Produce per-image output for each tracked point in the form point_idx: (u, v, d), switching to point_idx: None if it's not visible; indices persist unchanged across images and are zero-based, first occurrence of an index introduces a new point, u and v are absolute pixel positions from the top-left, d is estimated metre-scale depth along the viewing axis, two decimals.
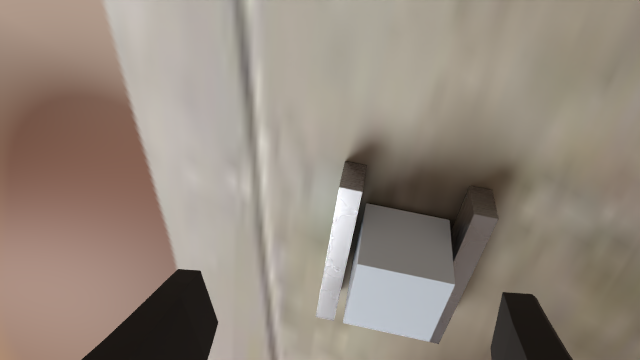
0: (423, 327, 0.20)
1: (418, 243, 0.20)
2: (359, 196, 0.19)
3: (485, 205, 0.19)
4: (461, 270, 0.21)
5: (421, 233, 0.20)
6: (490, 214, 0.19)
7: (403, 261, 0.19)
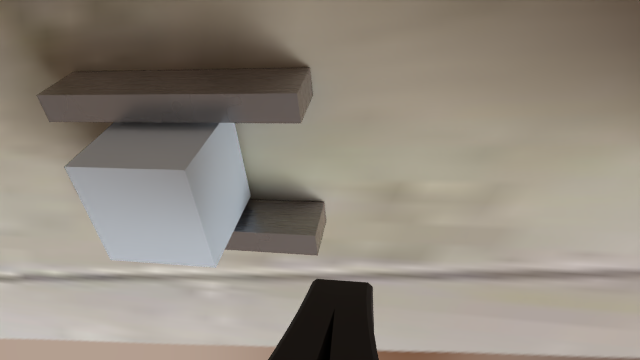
0: (160, 183, 0.13)
1: None
2: None
3: None
4: (129, 109, 0.15)
5: None
6: None
7: None
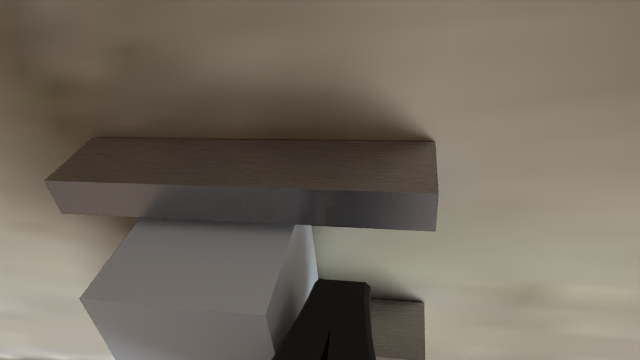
0: (225, 327, 0.09)
1: None
2: None
3: None
4: (178, 203, 0.10)
5: None
6: None
7: None
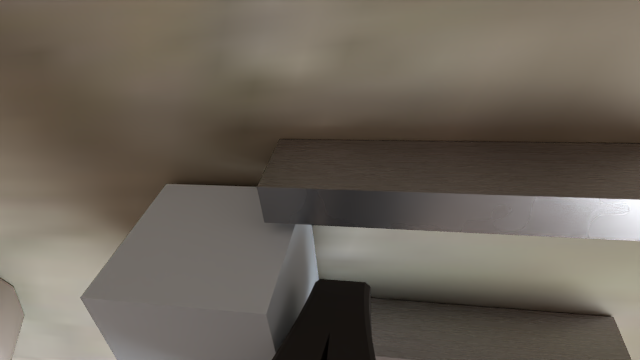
0: (225, 326, 0.09)
1: None
2: None
3: None
4: (413, 212, 0.09)
5: None
6: None
7: None
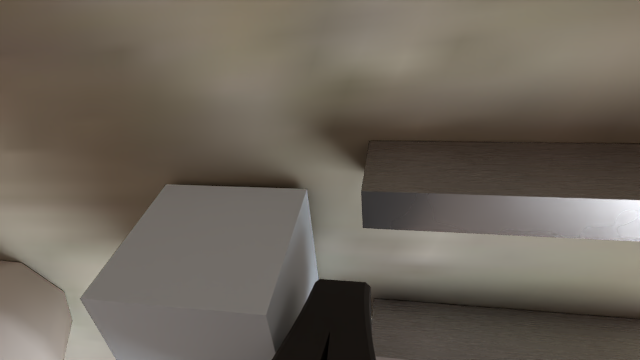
0: (225, 327, 0.09)
1: None
2: (379, 358, 0.12)
3: None
4: (529, 217, 0.09)
5: None
6: None
7: None
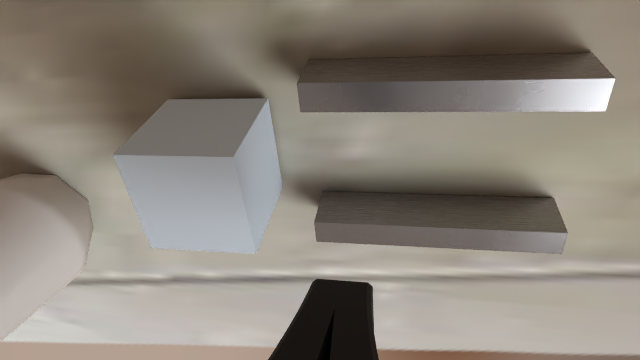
0: (208, 170, 0.14)
1: None
2: (321, 223, 0.17)
3: None
4: (403, 97, 0.14)
5: None
6: None
7: None
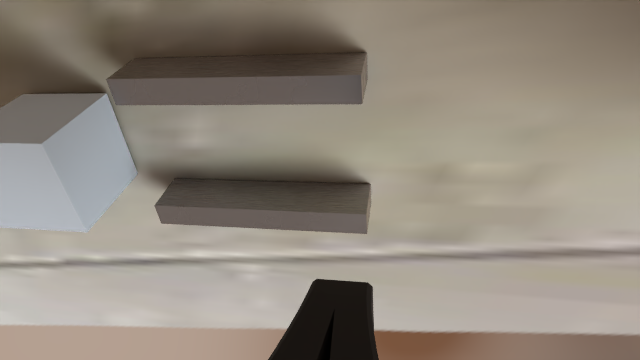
0: (25, 155, 0.16)
1: None
2: (161, 206, 0.19)
3: None
4: (196, 91, 0.16)
5: None
6: None
7: None
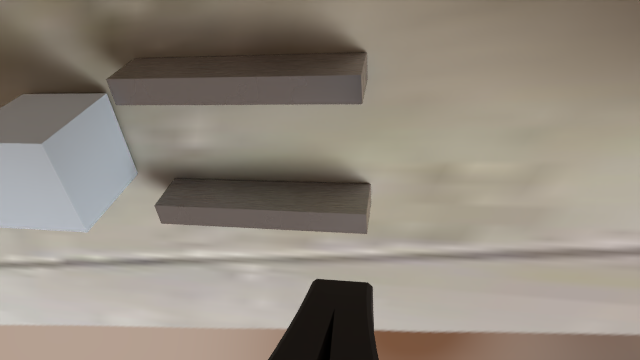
0: (25, 155, 0.16)
1: None
2: (161, 206, 0.19)
3: None
4: (196, 91, 0.16)
5: None
6: None
7: None
